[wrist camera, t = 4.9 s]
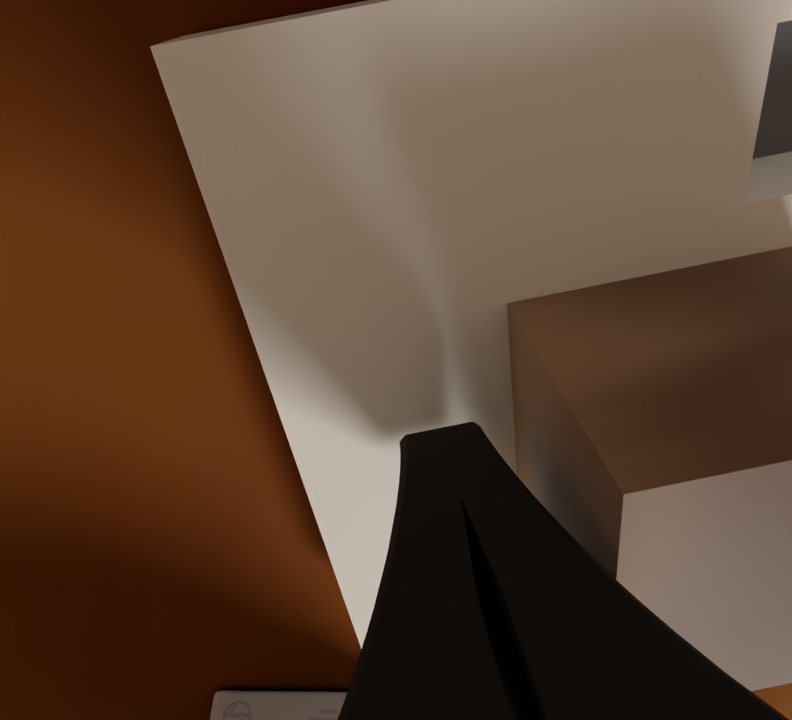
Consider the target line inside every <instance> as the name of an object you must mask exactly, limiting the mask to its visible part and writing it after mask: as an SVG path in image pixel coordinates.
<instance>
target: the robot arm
mask: <svg viewBox="0 0 792 720" xmlns="http://www.w3.org/2000/svg"><path fill="white" fill-rule="evenodd" d="M337 720H789V719H787V718H786V717H785V716H783V715H782V714H781V713H779V712H778V711H777V710H775V709H774V708H773V707H771V706H770V705H769V704H767V703H766V702H764V701H763V700H762V699H760V698H759V697H758V696H756V695H755V694H754V693H752V692H751V691H750V690H748V689H747V688H746V687H744V686H743V685H742V684H740V683H739V682H738V681H736V680H735V679H734V678H732V677H731V676H730V675H728V674H727V673H726V672H724V671H723V670H722V669H721V668H719V667H718V666H717V665H716V664H714V663H713V662H712V661H711V660H709V659H708V658H707V657H706V656H705V655H703V654H702V653H701V652H700V651H698V650H697V649H696V648H695V647H693V646H692V645H691V644H690V643H689V642H687V641H686V640H685V639H684V638H682V637H681V636H680V635H679V634H677V633H676V632H675V631H674V630H673V629H672V628H670V627H669V626H668V625H667V624H666V623H665V622H663V621H662V620H661V619H660V618H659V617H658V616H656V615H655V614H654V613H653V612H652V611H651V610H649V609H648V608H647V607H646V606H645V605H644V604H642V603H641V602H640V601H639V600H638V599H637V598H636V597H635V596H634V595H632V594H631V593H630V592H629V591H628V590H627V589H626V588H625V587H624V586H623V585H621V584H620V583H619V582H618V581H617V580H616V579H615V578H614V577H613V576H612V575H611V574H610V573H609V572H608V571H606V570H605V569H604V568H603V567H602V566H601V565H600V564H599V563H598V562H597V561H596V560H595V559H594V558H593V557H592V556H591V555H590V554H589V553H588V552H587V551H586V550H585V549H584V548H583V547H582V546H581V545H580V544H579V543H578V542H577V541H576V540H575V539H574V538H573V537H572V536H571V535H570V534H569V533H568V532H567V531H566V530H565V529H564V528H563V527H562V526H561V525H560V523H559V522H558V521H557V520H556V519H555V518H554V517H553V516H552V515H551V514H550V513H549V511H548V510H547V509H546V508H545V507H544V506H543V505H542V504H541V503H540V502H539V501H538V499H537V498H536V497H535V496H534V495H533V494H532V493H531V492H530V491H529V489H528V488H527V487H526V486H525V485H524V484H523V482H522V481H521V480H520V479H519V478H518V476H517V475H516V474H515V473H514V471H513V470H512V469H511V468H510V467H509V465H508V464H507V463H506V462H505V460H504V459H503V458H502V456H501V455H500V454H499V453H498V451H497V450H496V448H495V447H494V446H493V444H492V443H491V442H490V440H489V439H488V437H487V436H486V434H485V433H484V431H483V430H482V428H481V426H479V425H478V424H476V423H475V422H473V421H472V422H467V423H462V424H457V425H452V426H447V427H442V428H437V429H432V430H427V431H422V432H417V433H412V434H407V435H405V436H404V437H403V438H402V439H401V441H400V477H399V487H398V495H397V503H396V509H395V515H394V520H393V526H392V531H391V537H390V542H389V548H388V552H387V557H386V561H385V565H384V569H383V573H382V577H381V581H380V585H379V589H378V593H377V597H376V601H375V605H374V609H373V612H372V616H371V620H370V623H369V626H368V630H367V633H366V636H365V640H364V643H363V646H362V649H361V653H360V656H359V659H358V662H357V665H356V668H355V671H354V674H353V677H352V680H351V683H350V686H349V689H348V692H347V695H346V698H345V700H344V703H343V706H342V708H341V711H340V714H339V716H338V719H337Z"/></svg>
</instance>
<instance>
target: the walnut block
mask: <svg viewBox="0 0 792 720" xmlns="http://www.w3.org/2000/svg"><path fill="white" fill-rule="evenodd" d="M507 313H508V329H509V346H510V362H511V379H512V395H513V412H514V428H515V445H516V461H517V476H518V478H519V479H520V480H521V481H522V482H523V484H524V485H525V486H526V487H527V488H528V489H529V491H530V492H531V493H532V494H533V495H534V496H535V497H536V498H537V499H538V501H539V502H540V503H541V504H542V505H543V506H544V507H545V508H546V509H547V510H548V511H549V513H550V514H551V515H552V516H553V517H554V518H555V519H556V520H557V521H558V522H559V523H560V525H561V526H562V527H563V528H564V529H565V530H566V531H567V532H568V533H569V534H570V535H571V536H572V537H573V538H574V539H575V540H576V541H577V542H578V543H579V544H580V545H581V546H582V547H583V548H584V549H585V550H586V551H587V552H588V553H589V554H590V555H591V556H592V557H593V558H594V559H595V560H596V561H597V562H598V563H599V564H600V565H601V566H602V567H603V568H604V569H605V570H606V571H608V572H609V573H610V574H611V575H612V576H613V577H614V578H615V579H616V580H617V581H618V582H619V583H620V584H621V585H623V586H624V587H625V588H626V589H627V590H628V591H629V592H630V593H631V594H632V595H634V596H635V597H636V598H637V599H638V600H639V601H640V602H641V603H642V604H644V605H645V606H646V607H647V608H648V609H649V610H651V611H652V612H653V613H654V614H655V615H656V616H658V617H659V618H660V619H661V620H662V621H663V622H665V623H666V624H667V625H668V626H669V627H670V628H672V629H673V630H674V631H675V632H676V633H677V634H679V635H680V636H681V637H682V638H684V639H685V640H686V641H687V642H689V643H690V644H691V645H692V646H693V647H695V648H696V649H697V650H698V651H700V652H701V653H702V654H703V655H705V656H706V657H707V658H708V659H709V660H711V661H712V662H713V663H714V664H716V665H717V666H718V667H719V668H721V669H722V670H723V671H724V672H726V673H727V674H728V675H730V676H731V677H732V678H734V679H735V680H736V681H738V682H739V683H740V684H742V685H743V686H744V687H746V688H747V689H748V690H750V691H754V690H759V689H763V688H768V687H773V686H778V685H783V684H788V683H792V246H791V247H786V248H781V249H776V250H771V251H766V252H761V253H756V254H751V255H746V256H741V257H736V258H731V259H726V260H721V261H716V262H711V263H706V264H701V265H696V266H691V267H686V268H681V269H676V270H671V271H666V272H661V273H656V274H651V275H646V276H641V277H636V278H631V279H626V280H621V281H616V282H611V283H606V284H601V285H596V286H592V287H587V288H582V289H577V290H572V291H567V292H562V293H557V294H552V295H547V296H542V297H537V298H532V299H527V300H522V301H517V302H512V303H507Z"/></svg>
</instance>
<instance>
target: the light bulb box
mask: <svg viewBox="0 0 792 720" xmlns="http://www.w3.org/2000/svg"><path fill="white" fill-rule="evenodd" d="M346 695H347V692H288V691H231V690H223V691H217V692H216V693H215V695H214V699H213V704H212V710H211V716H210V720H337V719H338V716H339V714H340V711H341V708H342V706H343V703H344V700H345V698H346Z"/></svg>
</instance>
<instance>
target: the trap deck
mask: <svg viewBox="0 0 792 720" xmlns="http://www.w3.org/2000/svg"><path fill="white" fill-rule="evenodd" d="M150 48H151V51H152V54H153V57H154V60H155V62H156V65H157V68H158V71H159V74H160V77H161V79H162V82H163V85H164V88H165V91H166V94H167V97H168V99H169V102H170V105H171V108H172V111H173V114H174V117H175V119H176V122H177V125H178V128H179V131H180V134H181V136H182V139H183V142H184V145H185V148H186V151H187V154H188V156H189V159H190V162H191V165H192V168H193V171H194V173H195V176H196V179H197V182H198V185H199V188H200V191H201V193H202V196H203V199H204V202H205V205H206V208H207V211H208V213H209V216H210V219H211V222H212V225H213V228H214V230H215V233H216V236H217V239H218V242H219V245H220V248H221V250H222V253H223V256H224V259H225V262H226V265H227V267H228V270H229V273H230V276H231V279H232V282H233V285H234V287H235V290H236V293H237V296H238V299H239V302H240V304H241V307H242V310H243V313H244V316H245V319H246V322H247V324H248V327H249V330H250V333H251V336H252V339H253V342H254V344H255V347H256V350H257V353H258V356H259V359H260V361H261V364H262V367H263V370H264V373H265V376H266V379H267V381H268V384H269V387H270V390H271V393H272V396H273V398H274V401H275V404H276V407H277V410H278V413H279V416H280V418H281V421H282V424H283V427H284V430H285V433H286V436H287V438H288V441H289V444H290V447H291V450H292V453H293V455H294V458H295V461H296V464H297V467H298V470H299V473H300V475H301V478H302V481H303V484H304V487H305V490H306V492H307V495H308V498H309V501H310V504H311V507H312V510H313V512H314V515H315V518H316V521H317V524H318V527H319V530H320V532H321V535H322V538H323V541H324V544H325V547H326V549H327V552H328V555H329V558H330V561H331V564H332V567H333V569H334V572H335V575H336V578H337V581H338V584H339V586H340V589H341V592H342V595H343V598H344V601H345V604H346V606H347V609H348V612H349V615H350V618H351V621H352V623H353V626H354V629H355V632H356V635H357V638H358V641H359V643H360V646H361V649H362V646H363V643H364V640H365V636H366V633H367V630H368V626H369V623H370V620H371V616H372V612H373V609H374V605H375V601H376V597H377V593H378V589H379V585H380V581H381V577H382V573H383V569H384V565H385V561H386V557H387V552H388V548H389V542H390V537H391V531H392V526H393V520H394V515H395V509H396V503H397V495H398V487H399V477H400V441H401V439H402V438H403V437H404V436H405V435H407V434H412V433H417V432H422V431H427V430H432V429H437V428H442V427H447V426H452V425H457V424H462V423H467V422H472V421H473V422H475V423H476V424H478V425H479V426H481V428H482V430H483V431H484V433H485V434H486V436H487V437H488V439H489V440H490V442H491V443H492V444H493V446H494V447H495V448H496V450H497V451H498V453H499V454H500V455H501V456H502V458H503V459H504V460H505V462H506V463H507V464H508V465H509V467H510V468H511V469H512V470H513V471H514V473H515V474H516V475H517V461H516V445H515V428H514V412H513V395H512V379H511V362H510V346H509V329H508V313H507V303H512V302H517V301H522V300H527V299H532V298H537V297H542V296H547V295H552V294H557V293H562V292H567V291H572V290H577V289H582V288H587V287H592V286H596V285H601V284H606V283H611V282H616V281H621V280H626V279H631V278H636V277H641V276H646V275H651V274H656V273H661V272H666V271H671V270H676V269H681V268H686V267H691V266H696V265H701V264H706V263H711V262H716V261H721V260H726V259H731V258H736V257H741V256H746V255H751V254H756V253H761V252H766V251H771V250H776V249H781V248H786V247H791V246H792V0H367V1H362V2H357V3H351V4H346V5H341V6H336V7H330V8H325V9H320V10H315V11H309V12H304V13H299V14H294V15H289V16H283V17H278V18H273V19H268V20H262V21H257V22H252V23H247V24H242V25H236V26H231V27H226V28H221V29H215V30H210V31H205V32H200V33H195V34H189V35H184V36H181V37H178V38H175V39H172V40H169V41H165V42H162V43H159V44H156V45H153V46H150Z"/></svg>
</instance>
